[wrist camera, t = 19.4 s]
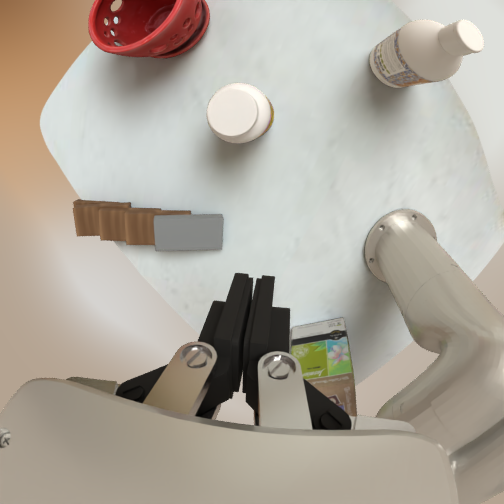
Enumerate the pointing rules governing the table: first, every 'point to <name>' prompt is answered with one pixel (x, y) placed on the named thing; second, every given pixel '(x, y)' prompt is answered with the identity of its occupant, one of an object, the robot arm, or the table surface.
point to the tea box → (326, 360)
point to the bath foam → (424, 52)
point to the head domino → (188, 232)
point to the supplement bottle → (239, 113)
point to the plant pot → (149, 26)
